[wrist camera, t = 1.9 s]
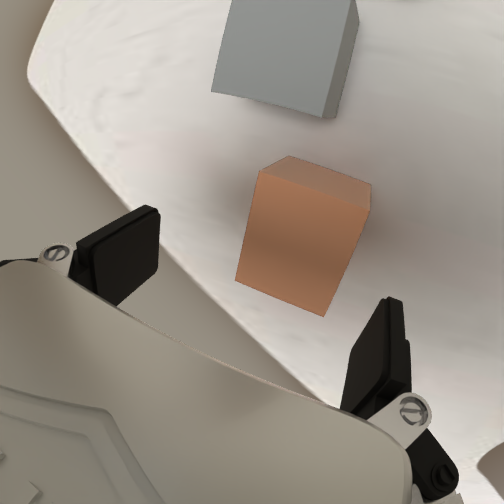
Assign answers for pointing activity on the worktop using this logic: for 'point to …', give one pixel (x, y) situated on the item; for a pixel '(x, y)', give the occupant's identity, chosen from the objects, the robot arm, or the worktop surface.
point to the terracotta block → (302, 232)
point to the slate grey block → (288, 53)
